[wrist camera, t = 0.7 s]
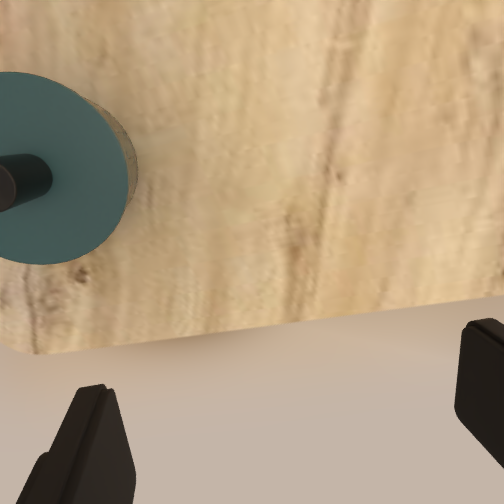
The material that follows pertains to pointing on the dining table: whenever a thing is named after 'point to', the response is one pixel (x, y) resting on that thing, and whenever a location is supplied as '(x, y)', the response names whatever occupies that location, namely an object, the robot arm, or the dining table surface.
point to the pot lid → (56, 172)
